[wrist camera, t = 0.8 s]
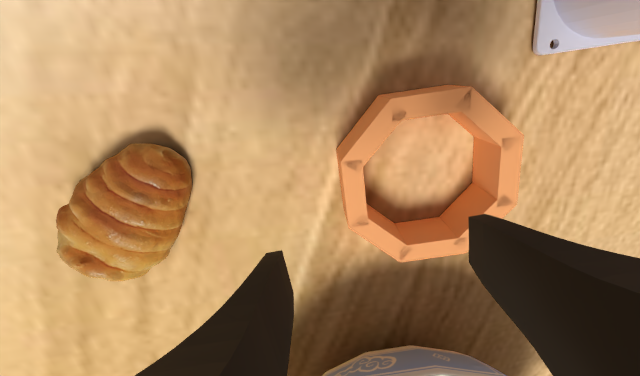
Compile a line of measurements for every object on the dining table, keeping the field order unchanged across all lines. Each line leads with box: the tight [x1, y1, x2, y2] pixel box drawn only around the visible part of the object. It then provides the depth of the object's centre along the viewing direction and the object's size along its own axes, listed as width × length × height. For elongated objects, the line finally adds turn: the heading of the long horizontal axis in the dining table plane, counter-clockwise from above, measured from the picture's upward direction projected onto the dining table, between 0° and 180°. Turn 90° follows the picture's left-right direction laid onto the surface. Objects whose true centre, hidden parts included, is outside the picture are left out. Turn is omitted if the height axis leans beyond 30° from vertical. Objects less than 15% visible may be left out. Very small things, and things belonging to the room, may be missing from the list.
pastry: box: [56, 144, 192, 281], centre depth 19 cm, size 9×7×4 cm
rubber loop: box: [336, 85, 524, 262], centre depth 19 cm, size 10×10×3 cm
